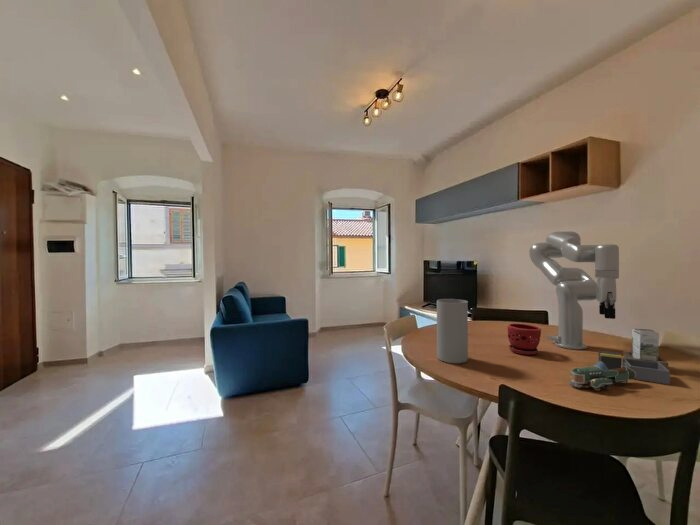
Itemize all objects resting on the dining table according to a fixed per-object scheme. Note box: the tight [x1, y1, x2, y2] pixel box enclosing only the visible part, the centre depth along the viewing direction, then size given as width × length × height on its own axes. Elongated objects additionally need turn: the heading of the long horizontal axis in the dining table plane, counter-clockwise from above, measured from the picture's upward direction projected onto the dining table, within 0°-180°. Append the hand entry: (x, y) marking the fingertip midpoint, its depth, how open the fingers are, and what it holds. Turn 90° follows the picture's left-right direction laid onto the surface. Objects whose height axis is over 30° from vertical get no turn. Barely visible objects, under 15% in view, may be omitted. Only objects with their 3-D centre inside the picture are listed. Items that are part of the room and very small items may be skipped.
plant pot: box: [507, 323, 542, 356], centre depth 138 cm, size 13×13×12 cm
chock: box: [598, 350, 623, 370], centre depth 117 cm, size 6×5×6 cm
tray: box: [622, 357, 671, 386], centre depth 109 cm, size 10×10×4 cm
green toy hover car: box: [568, 360, 636, 392], centre depth 102 cm, size 10×25×8 cm, turn 100°
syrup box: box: [631, 328, 660, 361], centre depth 118 cm, size 6×6×14 cm
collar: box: [623, 350, 669, 370], centre depth 118 cm, size 10×10×4 cm
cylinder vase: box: [436, 298, 469, 365], centre depth 129 cm, size 12×12×25 cm
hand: (607, 316), depth 124 cm, fingers open, 9 cm apart
